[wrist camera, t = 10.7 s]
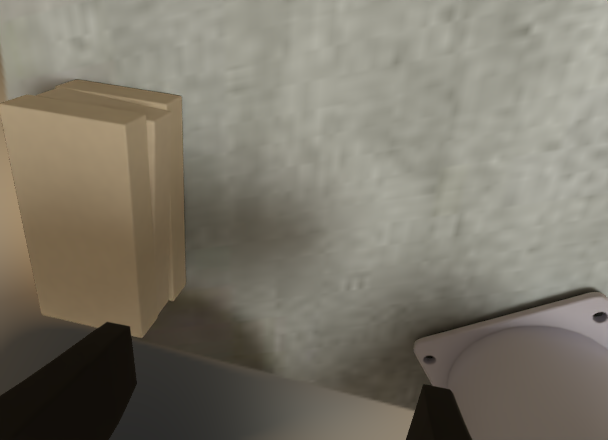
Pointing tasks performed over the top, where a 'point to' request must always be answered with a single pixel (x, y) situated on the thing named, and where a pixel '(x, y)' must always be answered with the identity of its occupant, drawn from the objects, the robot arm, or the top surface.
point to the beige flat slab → (85, 209)
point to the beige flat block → (176, 174)
